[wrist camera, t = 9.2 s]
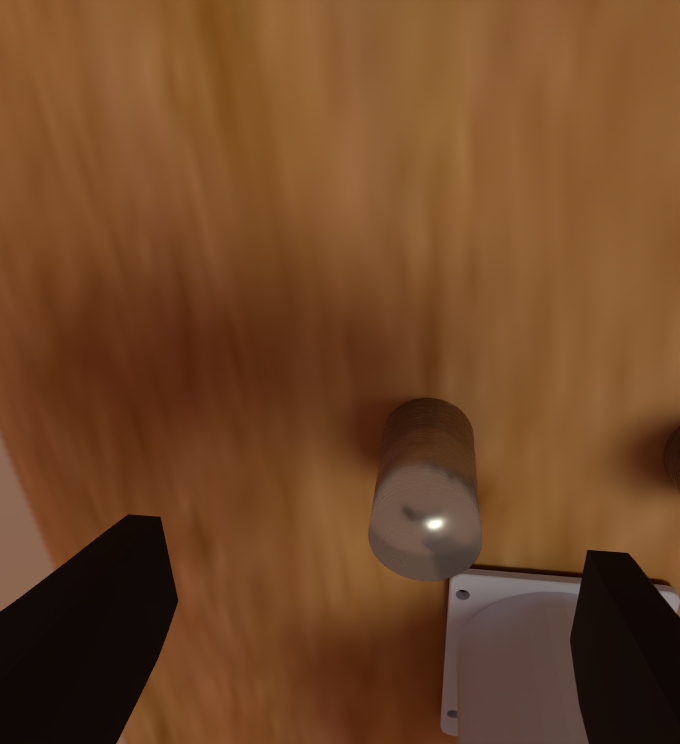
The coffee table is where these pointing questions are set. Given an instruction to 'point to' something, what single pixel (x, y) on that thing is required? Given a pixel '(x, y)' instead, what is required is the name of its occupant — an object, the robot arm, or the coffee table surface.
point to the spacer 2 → (673, 458)
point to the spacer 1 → (426, 493)
